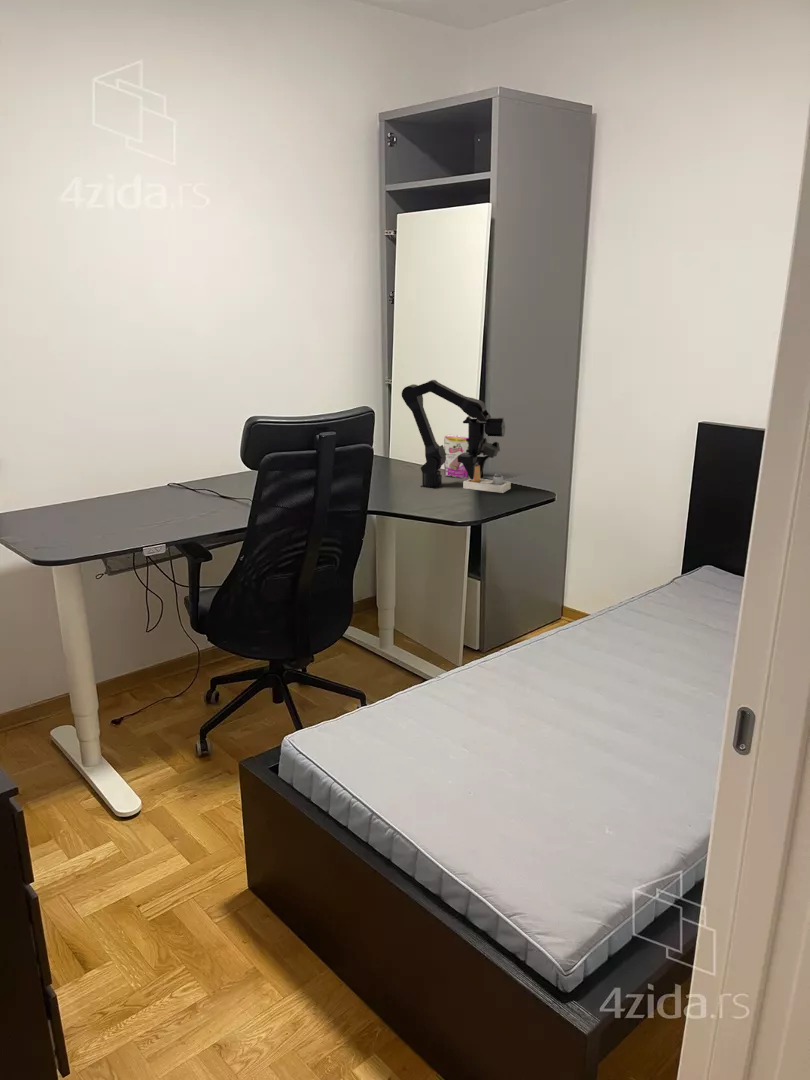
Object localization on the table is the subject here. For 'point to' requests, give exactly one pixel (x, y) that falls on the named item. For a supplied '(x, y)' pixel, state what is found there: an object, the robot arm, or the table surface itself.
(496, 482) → the grey plug
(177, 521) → the table surface
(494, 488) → the white compartment tray
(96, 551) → the table surface
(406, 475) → the table surface
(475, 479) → the orange cylindrical bottle
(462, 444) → the snack bar box
